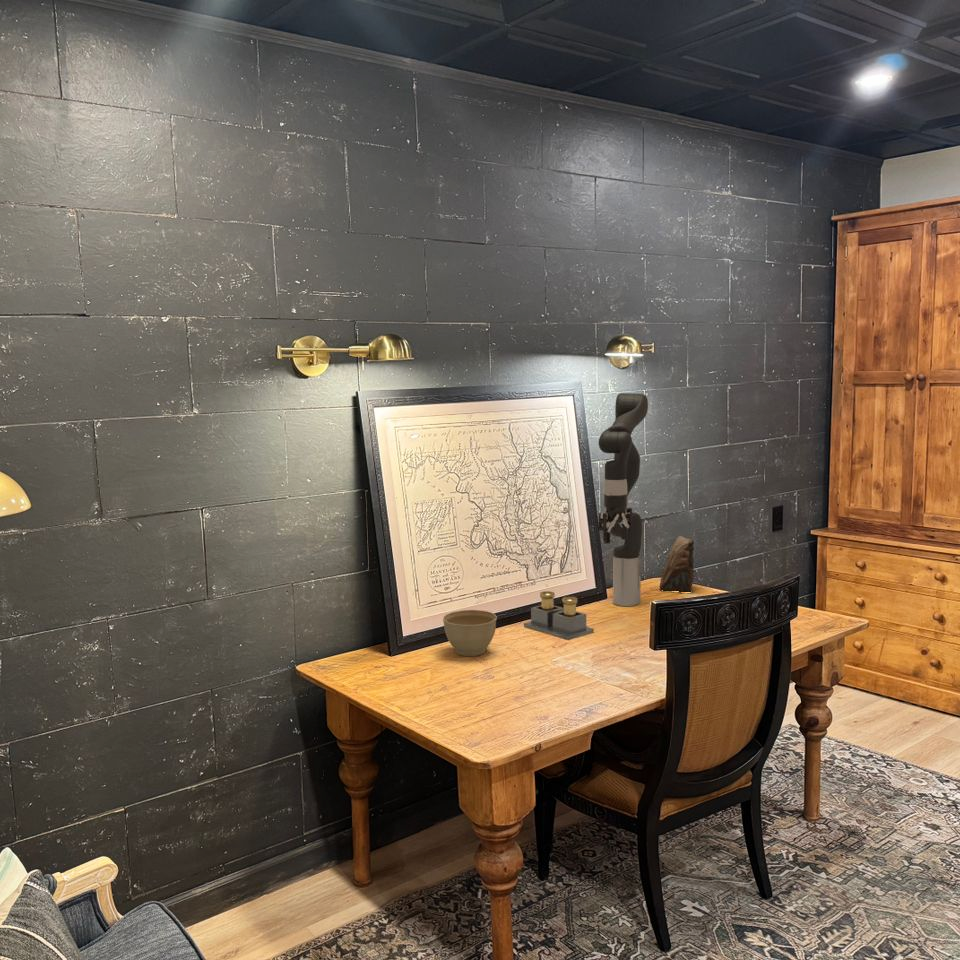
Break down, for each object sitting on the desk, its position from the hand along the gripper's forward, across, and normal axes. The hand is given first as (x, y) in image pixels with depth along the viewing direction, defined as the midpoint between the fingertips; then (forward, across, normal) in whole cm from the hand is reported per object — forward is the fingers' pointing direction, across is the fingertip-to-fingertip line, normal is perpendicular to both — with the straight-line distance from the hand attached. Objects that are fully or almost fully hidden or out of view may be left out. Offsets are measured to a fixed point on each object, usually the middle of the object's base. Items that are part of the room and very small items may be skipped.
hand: (615, 541), depth 299 cm
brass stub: (+26, +19, -3) cm, 33 cm away
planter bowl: (+27, +55, -10) cm, 62 cm away
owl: (+29, -50, -14) cm, 60 cm away
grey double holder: (+27, +19, -8) cm, 34 cm away
